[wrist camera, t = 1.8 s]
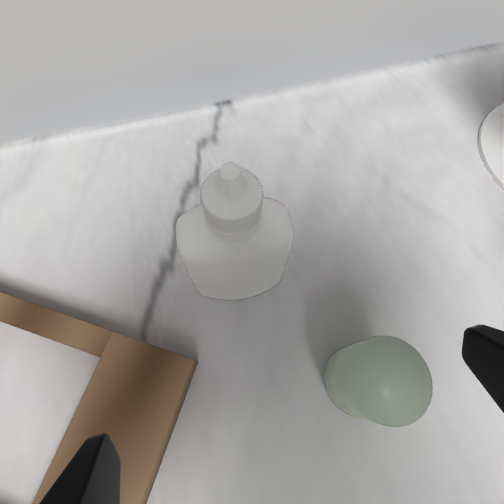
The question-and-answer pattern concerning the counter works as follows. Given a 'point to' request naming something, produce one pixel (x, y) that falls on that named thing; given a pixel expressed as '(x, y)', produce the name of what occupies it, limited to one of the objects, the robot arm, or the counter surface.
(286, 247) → the eye dropper bottle
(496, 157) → the panda figurine
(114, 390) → the walnut square frame
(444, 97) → the counter surface
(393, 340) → the pale green rounded cylinder
